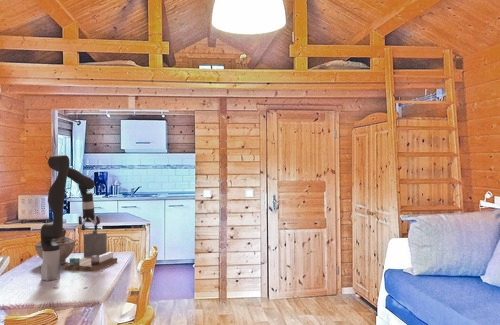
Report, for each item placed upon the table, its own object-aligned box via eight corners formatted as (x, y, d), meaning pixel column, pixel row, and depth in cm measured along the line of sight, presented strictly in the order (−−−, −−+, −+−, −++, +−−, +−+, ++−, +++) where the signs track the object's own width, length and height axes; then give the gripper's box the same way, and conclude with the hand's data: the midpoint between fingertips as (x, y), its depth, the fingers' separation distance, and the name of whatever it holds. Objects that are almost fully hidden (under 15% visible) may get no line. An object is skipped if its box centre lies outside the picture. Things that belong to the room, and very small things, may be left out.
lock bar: (96, 265, 257) (96, 257, 257) (89, 264, 258) (89, 256, 258) (114, 257, 277) (114, 250, 277) (108, 257, 278) (108, 250, 278)
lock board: (117, 262, 278) (116, 251, 278) (94, 271, 254) (94, 260, 254) (88, 260, 284) (87, 250, 284) (63, 269, 260) (63, 258, 260)
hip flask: (107, 255, 298) (106, 229, 298) (106, 256, 294) (106, 229, 294) (84, 257, 294) (83, 230, 294) (83, 258, 290) (83, 231, 290)
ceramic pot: (81, 263, 276) (80, 228, 276) (43, 270, 258) (42, 233, 258) (66, 257, 293) (66, 225, 293) (29, 264, 275) (29, 229, 275)
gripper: (75, 208, 273) (77, 231, 274) (95, 208, 272) (97, 231, 273) (80, 206, 280) (82, 228, 282) (100, 206, 279) (102, 228, 281)
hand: (89, 230), depth 278 cm, fingers open, 8 cm apart
